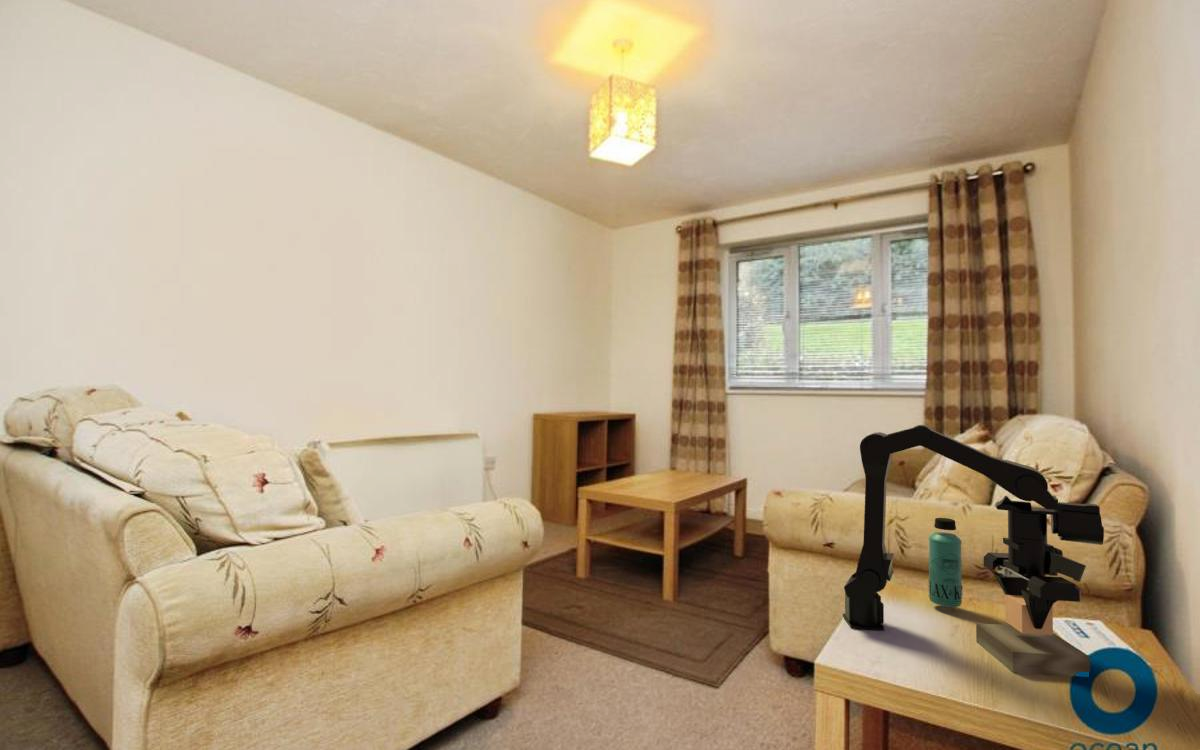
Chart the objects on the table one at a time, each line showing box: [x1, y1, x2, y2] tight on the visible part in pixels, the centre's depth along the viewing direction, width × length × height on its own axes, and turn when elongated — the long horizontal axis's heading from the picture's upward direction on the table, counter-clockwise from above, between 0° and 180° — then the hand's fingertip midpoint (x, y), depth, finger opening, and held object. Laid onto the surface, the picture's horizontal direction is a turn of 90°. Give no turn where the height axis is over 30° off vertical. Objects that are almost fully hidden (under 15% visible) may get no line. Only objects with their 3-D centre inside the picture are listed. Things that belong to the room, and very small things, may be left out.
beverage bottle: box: [927, 517, 963, 608], centre depth 126 cm, size 6×7×20 cm
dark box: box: [975, 622, 1091, 678], centre depth 102 cm, size 12×12×4 cm
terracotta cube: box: [1004, 594, 1054, 635], centre depth 102 cm, size 5×5×5 cm
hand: (1028, 622), depth 102 cm, fingers closed on terracotta cube, 5 cm apart
